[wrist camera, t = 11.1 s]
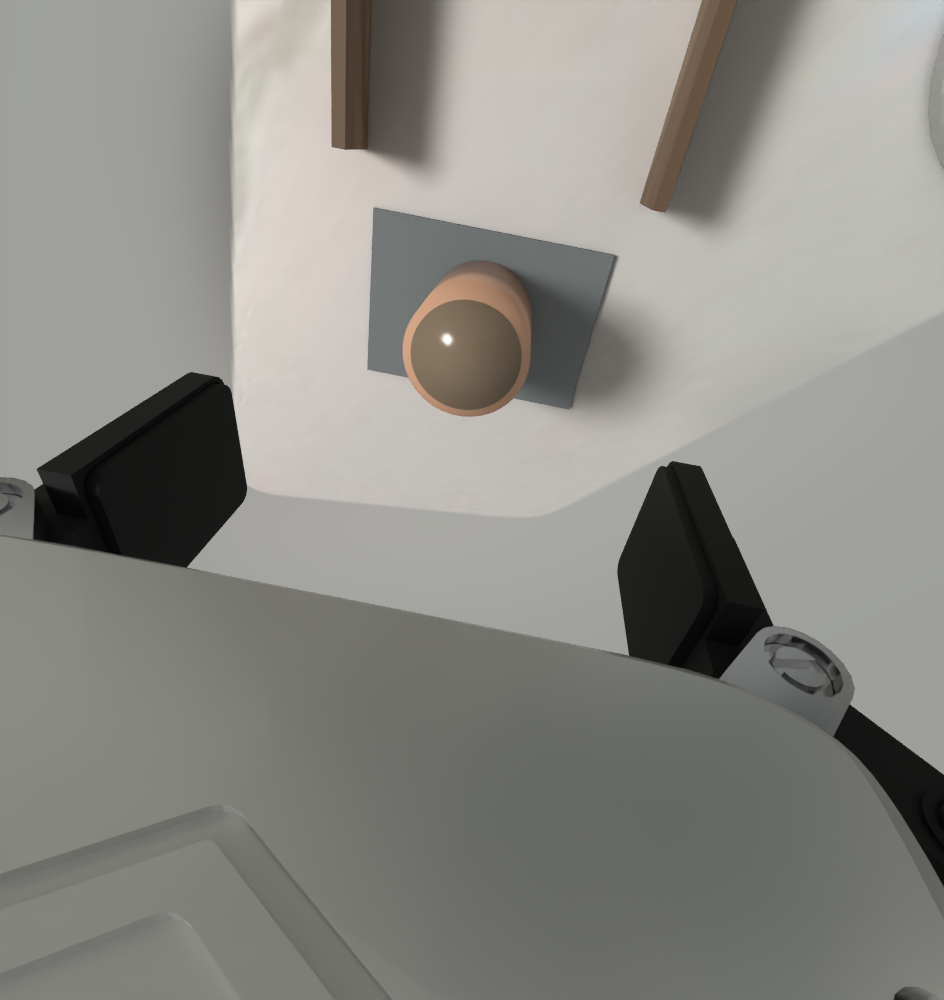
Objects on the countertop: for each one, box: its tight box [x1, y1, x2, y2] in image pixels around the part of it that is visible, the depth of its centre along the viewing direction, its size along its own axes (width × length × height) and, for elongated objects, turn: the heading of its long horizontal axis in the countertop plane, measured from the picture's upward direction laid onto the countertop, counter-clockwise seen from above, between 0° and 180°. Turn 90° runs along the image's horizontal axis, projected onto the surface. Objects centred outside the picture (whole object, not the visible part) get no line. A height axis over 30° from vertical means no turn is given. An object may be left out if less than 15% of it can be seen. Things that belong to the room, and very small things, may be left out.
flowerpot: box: [403, 260, 532, 416], centre depth 26 cm, size 6×6×7 cm
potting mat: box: [367, 208, 615, 409], centre depth 29 cm, size 13×9×1 cm
